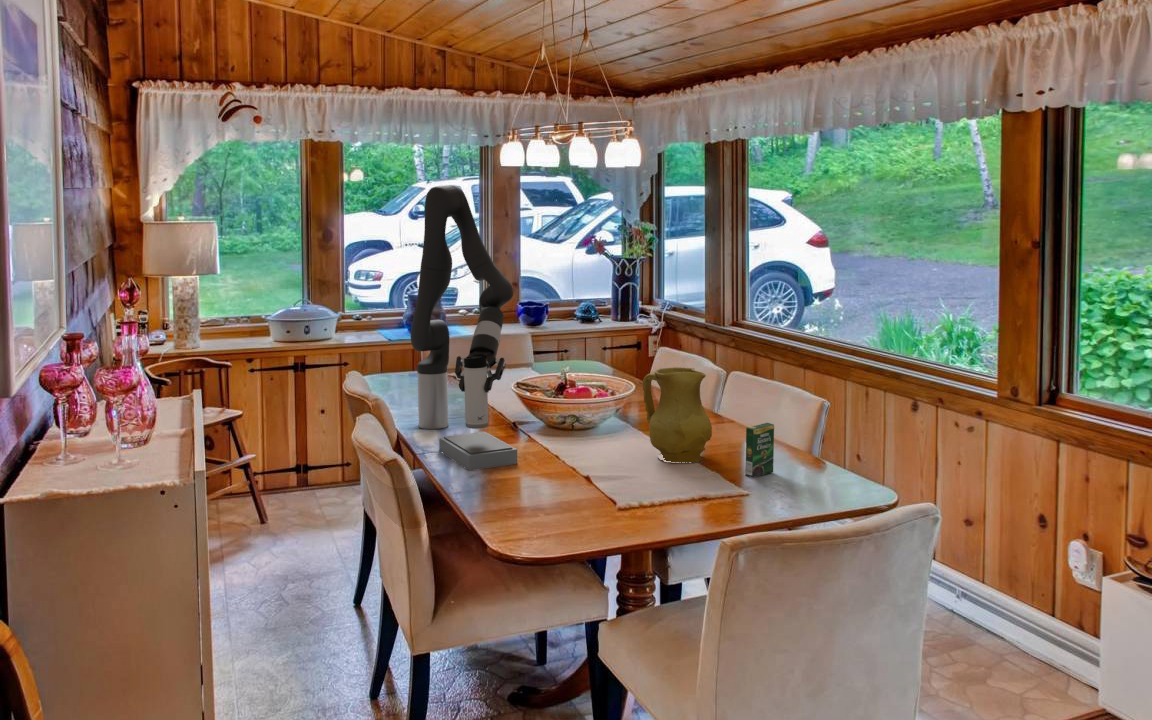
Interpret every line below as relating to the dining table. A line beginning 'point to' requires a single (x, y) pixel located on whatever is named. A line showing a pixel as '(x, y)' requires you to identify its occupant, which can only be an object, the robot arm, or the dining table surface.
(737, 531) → the dining table surface
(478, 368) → the travel mug
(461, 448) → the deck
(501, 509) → the dining table surface
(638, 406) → the dining table surface
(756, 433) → the coffee box
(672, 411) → the pitcher
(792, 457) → the dining table surface
